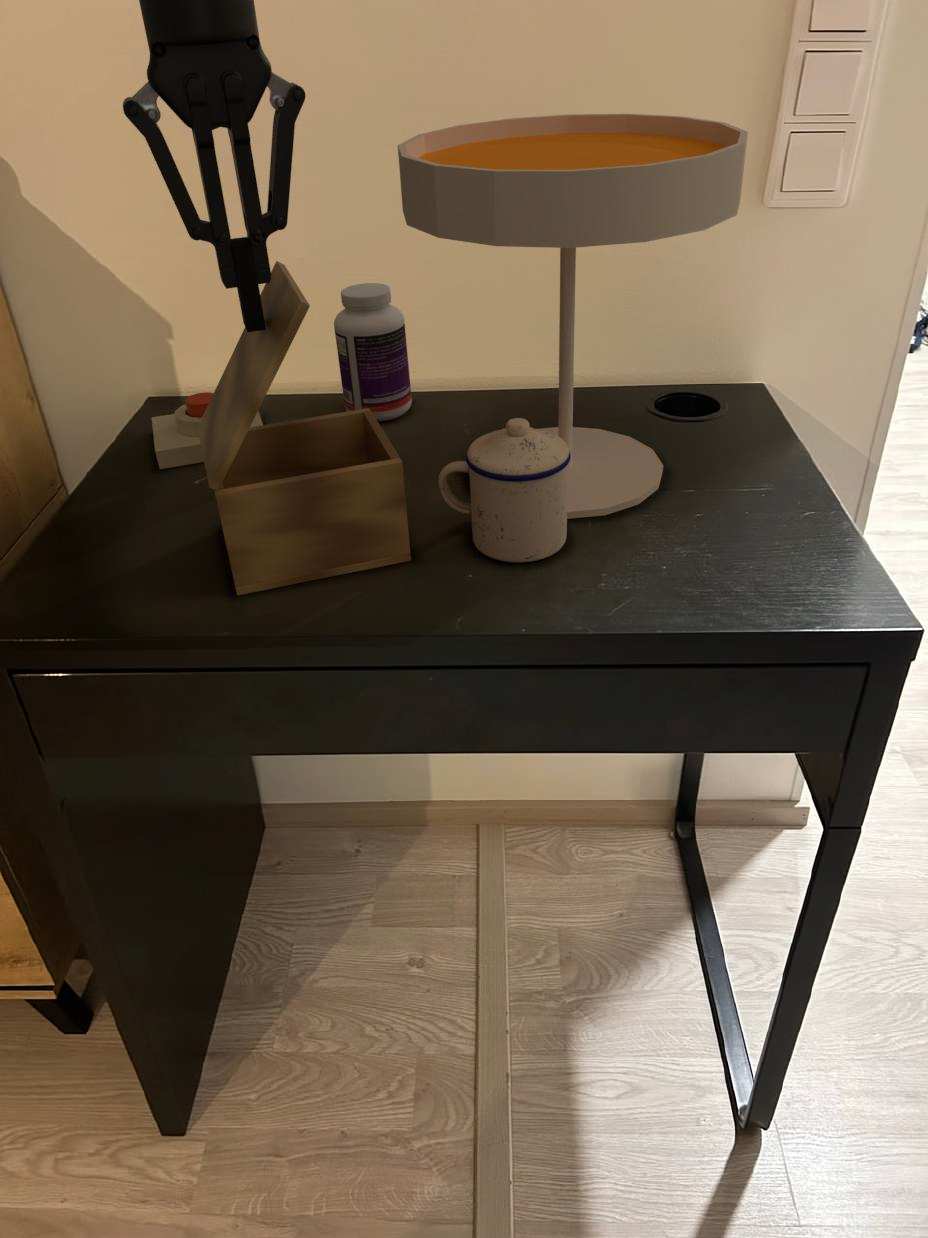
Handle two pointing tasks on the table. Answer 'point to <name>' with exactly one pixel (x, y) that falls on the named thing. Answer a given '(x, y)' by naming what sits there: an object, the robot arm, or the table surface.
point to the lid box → (313, 502)
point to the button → (198, 403)
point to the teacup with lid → (514, 492)
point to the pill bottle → (372, 352)
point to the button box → (180, 438)
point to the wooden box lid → (250, 374)
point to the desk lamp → (577, 228)
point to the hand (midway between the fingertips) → (254, 325)
